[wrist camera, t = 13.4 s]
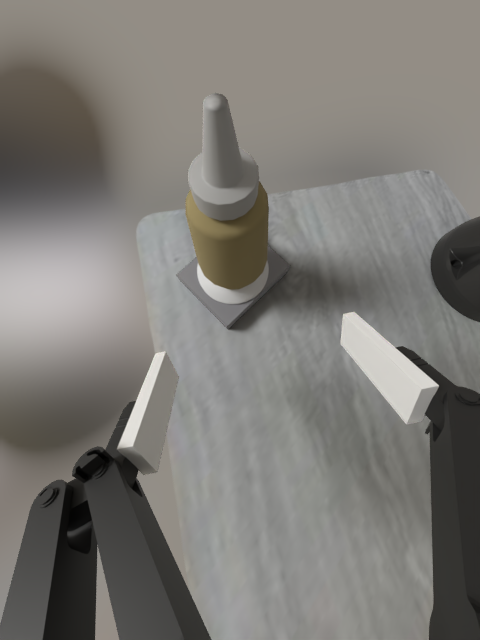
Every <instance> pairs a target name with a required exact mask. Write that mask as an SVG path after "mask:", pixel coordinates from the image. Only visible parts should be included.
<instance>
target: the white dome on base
mask: <svg viewBox="0 0 480 640" xmlns="http://www.w3.org/2000/svg"><path fill="white" fill-rule="evenodd" d="M289 267H290V265H289V264H288V263H287V262H286V261H285V260H284V259H283V258H281V257H280V256H279V255H278V254H277V253H276V252H275V251H274V250H273V249H271V248H270V247H269V246H268V250H267V262H266V265H265V268H264V271H263V273H262V274H261V275H260V276H259V277H258V278H257V279H256V280H255V281H254V282H253V283H251V284H249V285H247V286H245V287H243V288H241V289H235V290H230V289H226V288H223V287H220V286H217V285H214V284H213V283H212V282H211V281H210V280H208V279H207V278H206V277H205V276H204V274H203V272H202V270H201V268H200V266H199V264H198V260H197V257H196V258H195V259H193V260H192V261H191V262H190V263H189V264H188V265H187V266H185V267H184V268H183V269H182V270H181V271H180V272H179V273H178V274H176V276H177V277H178V278H179V280H180V281H181V282H182V283H183V284H184V285H185V286H186V287H187V288H188V289H189V290H190V291H191V292H192V293H193V294H194V295H195V296H196V297H197V298H198V299H199V300H200V301H201V302H202V304H203V305H204V306H205V307H206V308H207V309H208V310H209V311H210V312H211V313H212V314H213V315H214V316H215V317H216V318H217V319H218V320H219V321H220V322H221V323H222V324H223V325H224V326H225V327H226V328H227V329H229V328H230V327H231V326H232V325H233V324H234V323H235V322H236V321H237V320H238V319H239V318H240V317H241V316H242V315H243V314H244V313H246V312H247V311H248V310H249V309H250V308H251V307H252V306H253V305H254V304H255V303H256V302H257V301H258V300H259V299H260V298H261V297H262V296H263V295H264V294H265V293H266V292H267V291H268V290H269V289H270V288H271V287H272V286H274V285H275V284H276V283H277V282H278V281H279V280H280V279H281V278H282V277H283V276H284V275H285V274H286V273H287V271H288V269H289Z"/></svg>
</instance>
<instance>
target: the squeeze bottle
mask: <svg viewBox="0 0 480 640" xmlns="http://www.w3.org/2000/svg"><path fill="white" fill-rule="evenodd" d="M188 183H189V186H190V191H189V193H188V195H187V198H186V217H187V221H188V225H189V229H190V232H191V236H192V240H193V244H194V248H195V252H196V256H197V260H198V264H199V266H200V268H201V270H202V272H203V274H204V276H205V277H206V278H207V279H208V280H210V281H211V282H212V283H213V284H214V285H217V286H220V287H223V288H226V289H230V290H235V289H241V288H243V287H245V286H247V285H249V284H251V283H253V282H254V281H255V280H256V279H257V278H258V277H259V276H260V275H261V274H262V273H263V271H264V268H265V265H266V262H267V250H268V212H269V207H268V197H267V193H266V191H265V190H264V188H263V186H262V185H261V183H260V182H259V172H258V165H257V164H256V162H255V160H254V159H253V157H252V156H251V155H250V154H248V153H247V152H246V151H244V150H243V149H241V148H239V146H238V142H237V138H236V134H235V130H234V126H233V121H232V117H231V113H230V109H229V105H228V100H227V99H226V97H225V96H223V95H222V94H217V93H215V94H211V95H208V96H207V97H206V98H205V99H204V101H203V151H202V152H201V153H200V154H199V155H198V156H197V157H196V158H195V159H194V160H193V162H192V164H191V166H190V168H189V171H188Z"/></svg>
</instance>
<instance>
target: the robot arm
mask: <svg viewBox="0 0 480 640" xmlns="http://www.w3.org/2000/svg"><path fill="white" fill-rule="evenodd" d="M431 272H432V276H433V280H434V282H435V285H436V287H437V289H438V290H439V292H440V293H441V295H442V296H443V298H444V299H445V300H446V301H447V302H448V303H449V304H450V305H451V306H452V307H453V308H454V309H456V310H457V311H458V312H460V313H461V314H463V315H465V316H467V317H469V318H471V319H473V320H476V321H479V322H480V217H477V218H474V219H471V220H469V221H467V222H465V223H463V224H461V225H459V226H458V227H456V228H455V229H453V230H451V231H450V232H448V233H447V234H445V235H444V236H443V237H442V238H441V239H440V240H439V241H438V243H437V244H436V246H435V248H434V250H433V253H432V258H431ZM341 345H342V346H343V347H344V348H345V350H346V351H347V352H348V353H349V355H350V356H351V357H352V358H353V359H354V361H355V362H356V363H357V364H358V366H359V367H360V368H361V369H362V370H363V372H364V373H365V374H366V375H367V377H368V378H369V379H370V380H371V382H372V383H373V384H374V385H375V386H376V388H377V389H378V390H379V391H380V393H381V394H382V395H383V396H384V397H385V399H386V400H387V401H388V402H389V404H390V405H391V406H392V407H393V408H394V410H395V411H396V412H397V413H398V415H399V416H400V417H401V418H402V419H403V421H404V422H405V423H406V424H411V423H416V422H421V421H422V420H423V418H424V416H425V415H426V416H427V417H428V418H429V419H430V420H431V422H430V424H429V425H428V427H427V429H426V432H425V433H426V434H428V433H429V432H430V464H431V506H432V549H433V592H434V604H433V611H432V614H431V618H430V626H429V640H480V394H479V393H477V392H475V391H473V390H471V389H468V388H464V387H457V386H456V385H454V384H453V383H452V382H450V381H449V380H448V379H447V378H446V377H444V376H443V375H442V374H441V373H439V372H438V371H437V370H436V369H434V368H433V367H432V366H431V365H428V363H427V362H426V361H424V360H423V359H421V357H419V356H418V355H417V354H416V353H415V352H413V351H411V350H409V349H407V348H405V347H403V346H401V347H396V348H395V347H394V346H393V345H392V344H390V343H389V342H388V341H387V340H386V339H385V338H384V337H382V336H381V335H380V334H379V333H378V332H377V331H375V330H374V329H373V328H372V327H371V326H370V325H369V324H367V323H366V322H365V321H364V320H363V319H362V318H360V317H359V316H358V315H357V314H356V313H355V312H350V313H345V314H343V322H342V333H341ZM178 379H179V376H178V374H177V372H176V370H175V368H174V366H173V364H172V363H171V361H170V359H169V357H168V355H167V353H166V351H165V352H160V353H156V354H155V356H154V359H153V361H152V364H151V366H150V369H149V371H148V374H147V376H146V379H145V381H144V384H143V386H142V389H141V391H140V393H139V396H138V398H137V401H134V402H130V403H129V404H128V405H127V406H126V407H125V409H124V410H123V412H122V414H121V416H120V419H119V421H118V423H117V425H116V428H115V430H114V432H113V434H112V436H111V439H110V441H109V443H108V445H107V447H106V450H104V449H103V448H102V447H95V448H92V449H90V450H88V451H87V452H86V453H85V454H83V455H82V456H81V457H80V458H79V460H78V461H77V462H76V464H75V466H74V469H73V473H72V476H74V477H75V478H76V479H74V480H72V481H70V482H68V483H67V482H65V481H63V480H56V481H54V482H52V483H51V484H49V485H48V486H46V487H45V488H44V489H43V490H42V491H41V492H40V493H39V494H38V496H37V497H36V499H35V500H34V502H33V504H32V507H31V509H30V513H29V517H28V520H27V524H26V528H25V532H24V536H23V539H22V543H21V547H20V551H19V555H18V559H17V563H16V567H15V570H14V574H13V578H12V581H11V586H10V589H9V593H8V597H7V601H6V604H5V608H4V612H3V616H2V620H1V623H0V640H95V616H96V615H95V613H96V576H97V575H96V574H97V544H98V548H99V552H100V556H101V561H102V565H103V570H104V574H105V578H106V583H107V587H108V592H109V596H110V600H111V605H112V609H113V614H114V618H115V622H116V627H117V631H118V635H119V640H211V638H210V636H209V634H208V631H207V629H206V627H205V625H204V623H203V620H202V618H201V616H200V614H199V612H198V610H197V607H196V605H195V603H194V601H193V599H192V596H191V594H190V592H189V590H188V588H187V586H186V583H185V581H184V579H183V577H182V575H181V572H180V570H179V568H178V566H177V564H176V562H175V560H174V557H173V555H172V553H171V551H170V548H169V546H168V544H167V542H166V540H165V538H164V535H163V533H162V531H161V529H160V527H159V524H158V522H157V520H156V518H155V516H154V514H153V511H152V509H151V507H150V505H149V503H148V500H147V498H146V496H145V494H144V492H143V490H142V488H141V485H140V483H139V481H138V480H137V479H136V477H137V474H138V470H139V471H140V472H141V473H142V474H143V475H145V474H150V473H156V472H158V467H159V463H160V458H161V454H162V450H163V445H164V441H165V436H166V432H167V427H168V423H169V419H170V414H171V410H172V405H173V401H174V396H175V392H176V387H177V383H178Z"/></svg>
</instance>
